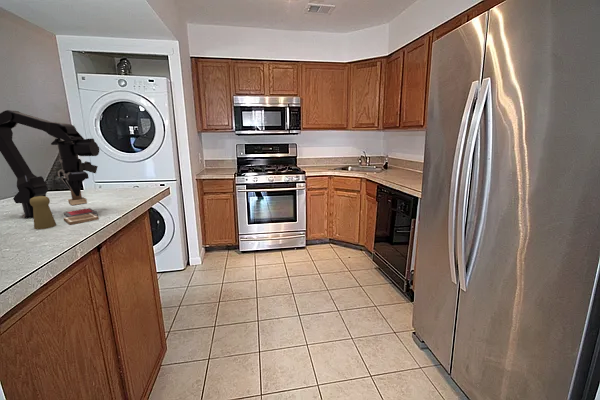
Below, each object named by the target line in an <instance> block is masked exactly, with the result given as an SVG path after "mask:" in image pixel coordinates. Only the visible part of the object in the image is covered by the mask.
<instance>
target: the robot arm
mask: <svg viewBox="0 0 600 400" xmlns="http://www.w3.org/2000/svg"><path fill="white" fill-rule="evenodd" d="M19 124H20V125H23V126H27V127H30V128H33V129H37V130H40V131H43V132H45V133H46V134H48V135H49V136H51V137H53V138H55V139H54V140H53V141H51V142H50V145H51V146H57V149H58V154H59V159H58V160H59V162H60V164H61V169H59V170H58V171H57V176H58V177H59V178H61V180H62V181H63V183H64V184H65V185H66V187H67V189H69V190H70V188H71V189H72V191H73V192H74V194H75V195H76V196H79V195H80V190H81V188H82V187H81V184H82V182H84V181H86V179H89V173H92V174H97V171H98V165H96V164H92V162H91V161H87V160H86V161H84V162H82V159H81V158H79V157H97V156H98V155H99V154H100V146H99V145H98V143H97V142H95V139H94V138H84V137H83V136H82V135H81V134H80V133H79V132H78V130H77V128H76V126H75V125H73V124H71V123H65V122H57V121H49V120H46V119H43V118H39V117H36V116H33V115H31V114H30V115H29V114H26V113H23V112H20V111H18V110H10V109H7V110H3V111H2V112H0V154H1V155H2V156H3V158H4V159H5V161H6V163H7V164H8V166H9V168H10V169H11V171H12V173H13V174H14V176H15V178H16V189H17V190H18V192H17V193H16V194H15V195H14V197H13V199H12V200H13V201H14V203H15V204H21V206H22V210H23V214H22V217H23V218H24V219H30V218H34V215H33V206H31V204H30V199H31V198H33V197H37V196H46V197H47V193H48V191H49V188H48V185H49V184H48V183H46V181H45V179H44V177H43V176H42V175H40V176H37V175H35V174H34V173H33V171H32V170H31V169H30V167H29V165H28V164H27V162H26V160H25V159H24V157H23V155H22V154H21V153H20V150H19V149H18V147H17V146H16V144H15V142H14V141H13V136H14V135H13V134H14V132H13V130H12V129H14V128H15V127H17V125H19ZM88 172H89V173H88Z"/></svg>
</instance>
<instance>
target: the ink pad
mask: <svg viewBox="0 0 600 400" xmlns="http://www.w3.org/2000/svg"><path fill="white" fill-rule="evenodd" d="M89 213H92V214H94V215H97V214H98V213H97V211H96V210H95V209H93V208H90V207H88V208H83V209H78V210H77V209H76V210H71V211H66V212H63V215H64V216H65V218H67V217H73V216H78V215H84V214H89Z"/></svg>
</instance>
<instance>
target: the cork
mask: <svg viewBox="0 0 600 400" xmlns="http://www.w3.org/2000/svg"><path fill="white" fill-rule="evenodd" d="M50 201H51V200H50V198H49V197H48V196H47V195H46V196H37V197H33V198H31V199H30V204H31V206H33V215H34V217H33V228H34V230H45V229H51V228H54V227H56V226H57V223H56V220H55V217H54V215H53V213H52V210H51V208H50V203H51V202H50Z"/></svg>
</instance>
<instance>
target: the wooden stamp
mask: <svg viewBox="0 0 600 400" xmlns="http://www.w3.org/2000/svg"><path fill="white" fill-rule="evenodd" d="M69 190H70V195H71V198H68V199H67V200H68V204H69V205H70V206H80V205H81V206H82V205H87V204H88V201H87V200H88V199H87V198H86V197H83V196H82V191H81V189H80V195H79V196H76V195H75V194H74V192H73V191H72V189H71V188H70V189H69Z"/></svg>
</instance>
